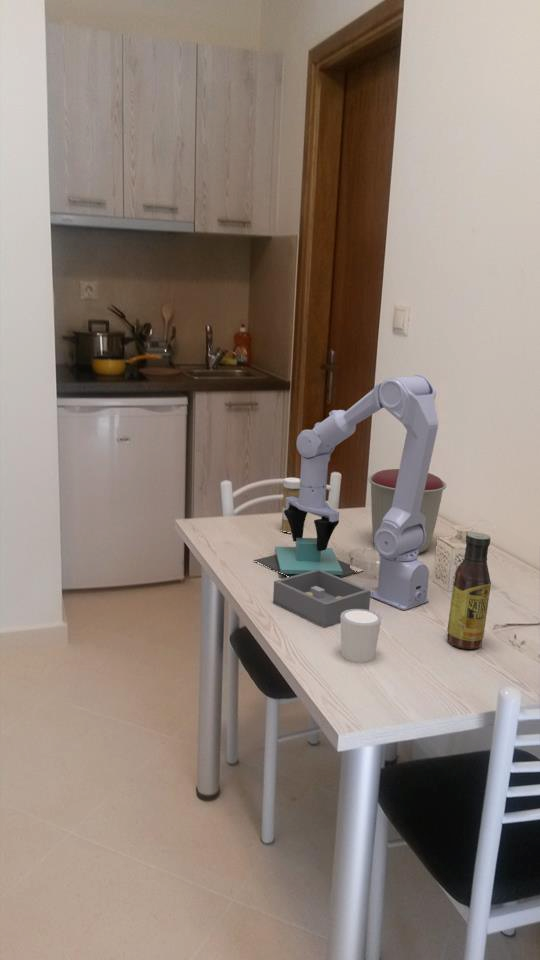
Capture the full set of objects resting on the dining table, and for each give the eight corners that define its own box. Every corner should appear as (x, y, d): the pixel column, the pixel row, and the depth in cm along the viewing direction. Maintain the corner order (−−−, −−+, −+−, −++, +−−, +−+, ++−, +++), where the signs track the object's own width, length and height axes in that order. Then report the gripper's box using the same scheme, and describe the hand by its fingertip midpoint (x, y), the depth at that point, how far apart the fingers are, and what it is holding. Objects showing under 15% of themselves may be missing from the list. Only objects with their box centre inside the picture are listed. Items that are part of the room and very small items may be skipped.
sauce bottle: (466, 654, 137) (478, 543, 133) (438, 640, 142) (450, 533, 138) (490, 645, 141) (504, 537, 137) (463, 632, 146) (475, 528, 141)
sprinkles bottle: (282, 534, 198) (285, 481, 195) (279, 528, 202) (282, 476, 199) (300, 534, 199) (303, 481, 195) (297, 528, 203) (300, 477, 200)
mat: (363, 571, 175) (363, 569, 175) (310, 586, 164) (310, 585, 164) (305, 548, 188) (306, 547, 188) (253, 561, 177) (253, 560, 177)
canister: (392, 531, 205) (399, 450, 200) (454, 549, 192) (463, 464, 187) (347, 545, 192) (354, 459, 187) (410, 566, 180) (419, 474, 175)
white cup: (329, 653, 135) (331, 614, 134) (355, 642, 140) (358, 604, 138) (360, 668, 131) (364, 628, 129) (386, 656, 135) (390, 617, 134)
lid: (342, 578, 169) (343, 552, 168) (280, 576, 168) (281, 551, 167) (331, 554, 184) (333, 531, 182) (274, 553, 183) (275, 529, 181)
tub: (368, 612, 153) (370, 590, 152) (324, 627, 145) (325, 604, 144) (317, 589, 163) (318, 568, 162) (272, 603, 155) (274, 581, 154)
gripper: (350, 489, 169) (346, 551, 172) (303, 475, 180) (299, 533, 183) (327, 494, 164) (323, 557, 168) (279, 479, 175) (276, 538, 178)
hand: (309, 545), depth 175 cm, fingers open, 7 cm apart
